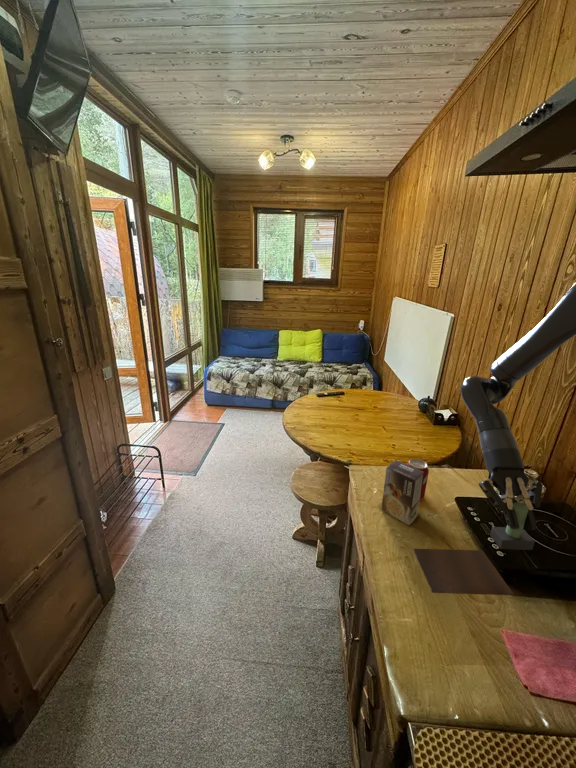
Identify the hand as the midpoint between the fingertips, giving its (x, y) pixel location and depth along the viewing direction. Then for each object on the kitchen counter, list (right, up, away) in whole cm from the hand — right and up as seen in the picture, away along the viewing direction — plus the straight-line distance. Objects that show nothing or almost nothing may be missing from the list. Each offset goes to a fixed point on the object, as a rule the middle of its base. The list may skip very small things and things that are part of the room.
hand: (523, 528), depth 67 cm
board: (-10, -14, +7) cm, 19 cm away
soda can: (-10, -6, +35) cm, 37 cm away
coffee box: (-18, -8, +26) cm, 32 cm away
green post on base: (0, -5, +4) cm, 6 cm away
